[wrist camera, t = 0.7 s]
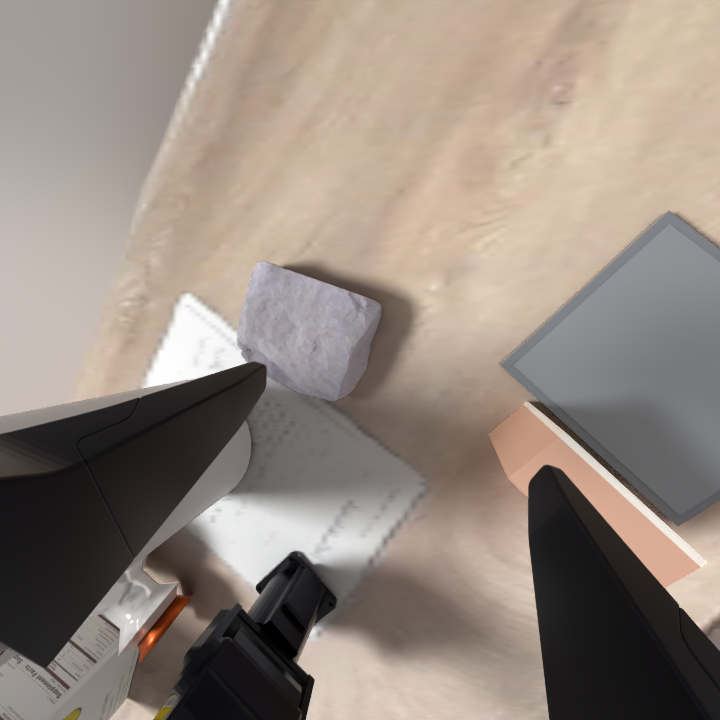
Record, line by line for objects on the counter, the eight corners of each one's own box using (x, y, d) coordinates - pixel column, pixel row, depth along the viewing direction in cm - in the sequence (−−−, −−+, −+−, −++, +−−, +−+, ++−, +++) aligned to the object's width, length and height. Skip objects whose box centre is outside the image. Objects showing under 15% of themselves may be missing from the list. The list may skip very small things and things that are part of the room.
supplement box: (128, 700, 39) (-107, 980, 22) (58, 644, 42) (-199, 855, 25) (149, 622, 37) (-98, 869, 20) (72, 567, 39) (-201, 744, 23)
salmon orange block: (576, 518, 23) (637, 603, 16) (487, 434, 24) (507, 478, 17) (621, 487, 22) (707, 562, 15) (527, 400, 23) (565, 432, 16)
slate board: (669, 519, 22) (678, 527, 21) (498, 364, 24) (501, 365, 23) (881, 384, 18) (903, 386, 17) (660, 215, 20) (670, 209, 19)
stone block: (361, 397, 29) (392, 295, 25) (341, 419, 25) (374, 301, 21) (260, 353, 32) (274, 257, 28) (226, 367, 27) (237, 255, 24)
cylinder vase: (140, 439, 34) (-576, 700, 10) (190, 354, 31) (-654, 435, 7) (216, 516, 32) (-433, 1057, 8) (277, 433, 29) (-460, 900, 5)
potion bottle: (123, 488, 38) (215, 565, 37) (47, 564, 34) (148, 650, 34) (73, 496, 29) (193, 596, 29) (-36, 599, 25) (100, 715, 25)
